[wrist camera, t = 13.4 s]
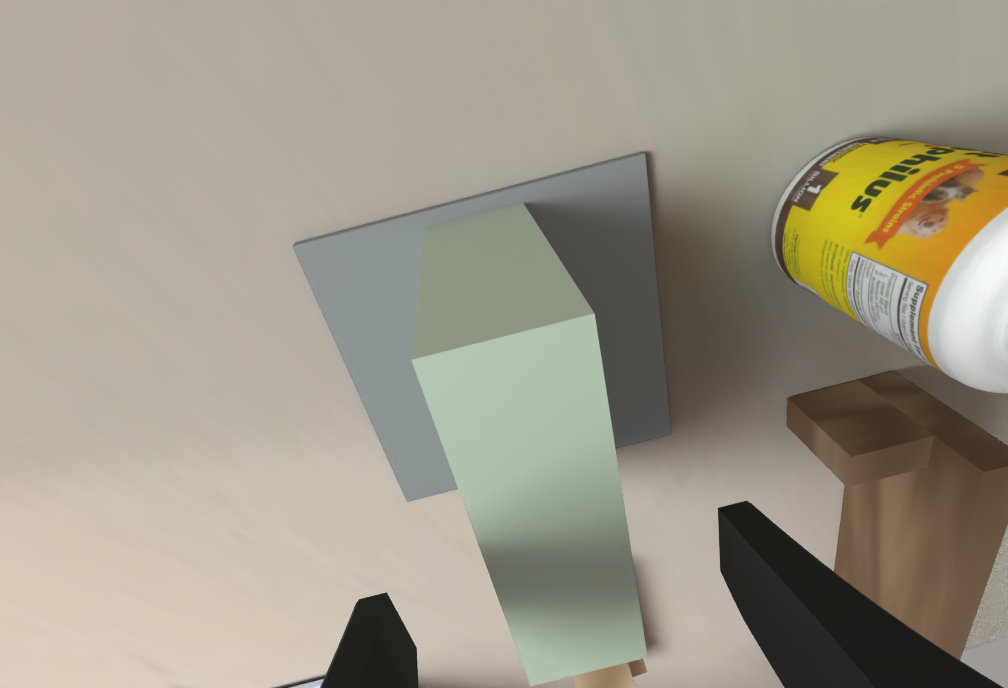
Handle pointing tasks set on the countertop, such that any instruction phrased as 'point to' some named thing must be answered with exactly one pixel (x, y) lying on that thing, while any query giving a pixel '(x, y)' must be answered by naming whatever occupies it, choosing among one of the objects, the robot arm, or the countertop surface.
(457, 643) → the countertop surface
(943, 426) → the walnut rack
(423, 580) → the countertop surface
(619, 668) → the offcut stack
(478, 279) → the tall sage green prism
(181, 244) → the countertop surface
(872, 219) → the supplement bottle
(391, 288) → the slate mat
